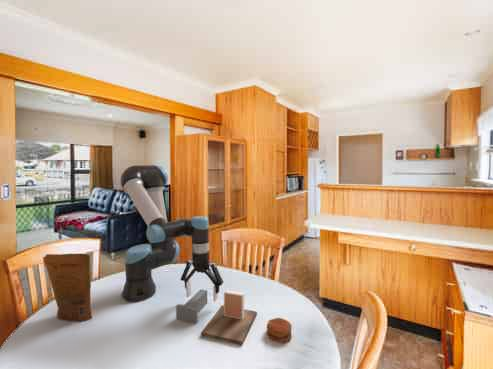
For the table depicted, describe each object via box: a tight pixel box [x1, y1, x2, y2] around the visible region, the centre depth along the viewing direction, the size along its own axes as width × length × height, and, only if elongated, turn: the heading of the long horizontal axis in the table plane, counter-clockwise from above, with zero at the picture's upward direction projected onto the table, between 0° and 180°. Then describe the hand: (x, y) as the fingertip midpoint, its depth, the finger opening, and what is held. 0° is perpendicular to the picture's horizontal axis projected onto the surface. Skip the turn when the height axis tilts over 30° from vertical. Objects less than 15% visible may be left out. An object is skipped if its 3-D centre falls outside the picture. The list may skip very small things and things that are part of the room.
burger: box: [266, 317, 293, 344], centre depth 93 cm, size 10×9×5 cm
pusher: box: [175, 289, 208, 325], centre depth 108 cm, size 9×16×6 cm, turn 162°
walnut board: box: [200, 304, 258, 346], centre depth 99 cm, size 16×19×2 cm
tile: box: [223, 289, 245, 319], centre depth 101 cm, size 8×2×10 cm, turn 72°
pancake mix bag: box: [42, 253, 93, 323], centre depth 102 cm, size 7×19×28 cm, turn 82°
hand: (202, 297), depth 112 cm, fingers open, 13 cm apart
